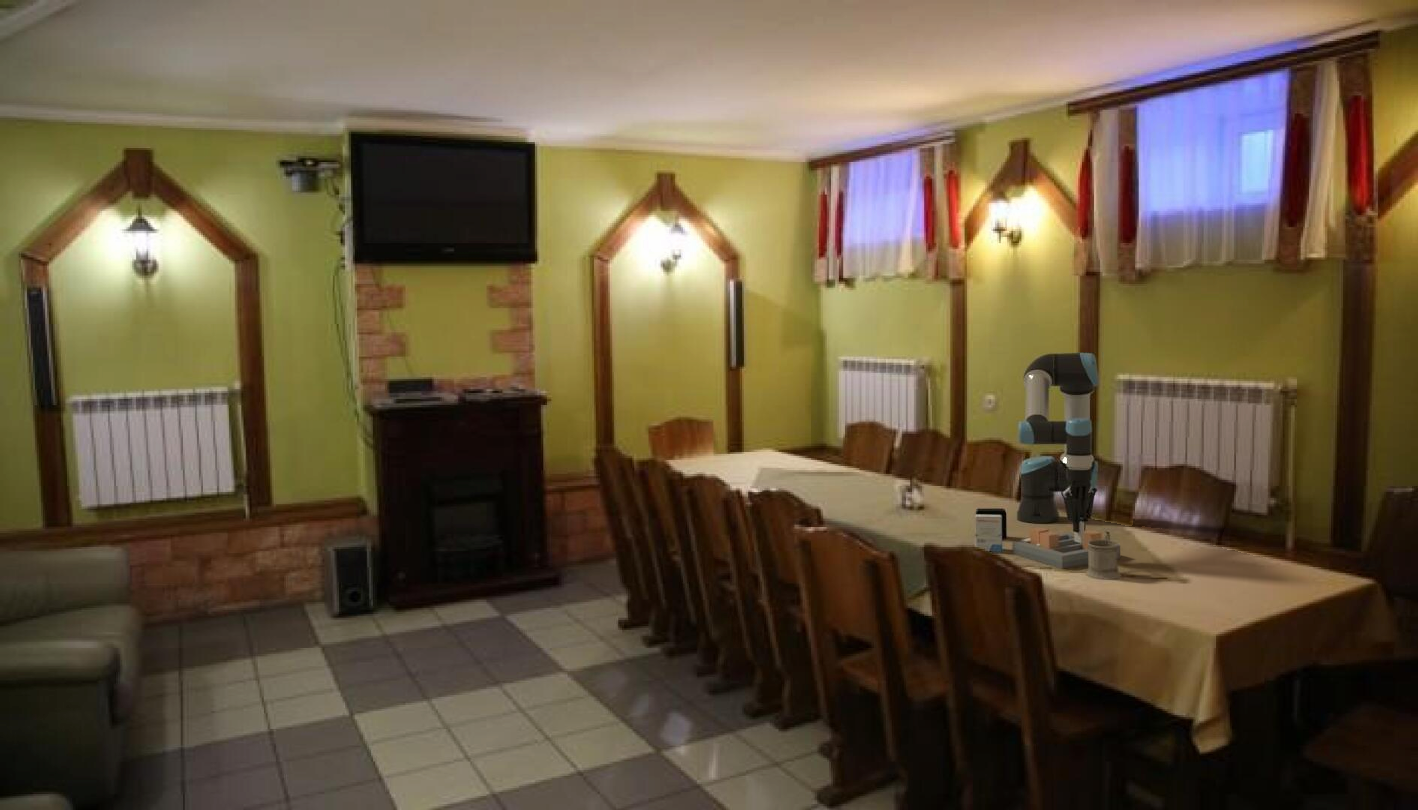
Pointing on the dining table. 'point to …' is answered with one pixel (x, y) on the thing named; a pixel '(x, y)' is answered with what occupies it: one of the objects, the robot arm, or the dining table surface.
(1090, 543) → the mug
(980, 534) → the ink box
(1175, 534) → the dining table surface
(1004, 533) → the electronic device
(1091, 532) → the orange block
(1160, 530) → the dining table surface
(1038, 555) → the grey divided tray
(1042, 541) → the tab
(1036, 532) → the tab
